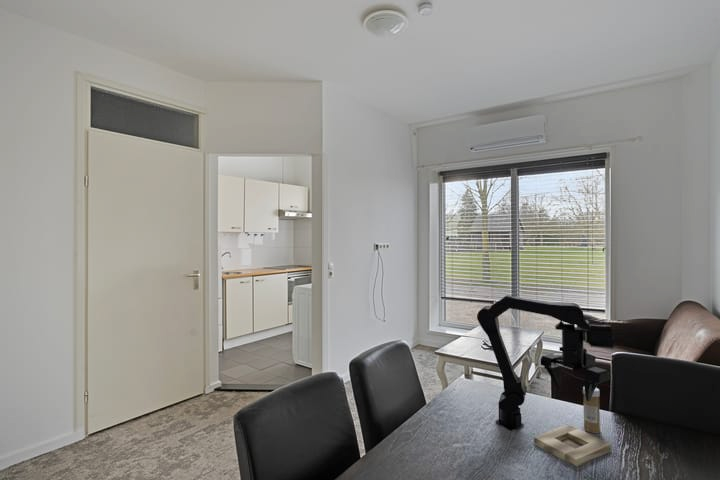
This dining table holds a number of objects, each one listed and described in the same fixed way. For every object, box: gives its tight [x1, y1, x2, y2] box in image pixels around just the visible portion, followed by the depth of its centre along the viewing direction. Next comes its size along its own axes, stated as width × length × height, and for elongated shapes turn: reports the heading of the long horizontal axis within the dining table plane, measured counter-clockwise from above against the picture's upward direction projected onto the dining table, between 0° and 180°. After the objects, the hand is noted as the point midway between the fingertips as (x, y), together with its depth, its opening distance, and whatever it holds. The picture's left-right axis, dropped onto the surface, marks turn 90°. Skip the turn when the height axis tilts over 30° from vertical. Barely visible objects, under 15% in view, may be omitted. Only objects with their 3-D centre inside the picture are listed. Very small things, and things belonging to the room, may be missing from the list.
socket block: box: [533, 423, 612, 468], centre depth 108 cm, size 13×16×2 cm
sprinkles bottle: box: [582, 386, 601, 434], centre depth 117 cm, size 5×5×14 cm
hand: (573, 395), depth 113 cm, fingers open, 9 cm apart
